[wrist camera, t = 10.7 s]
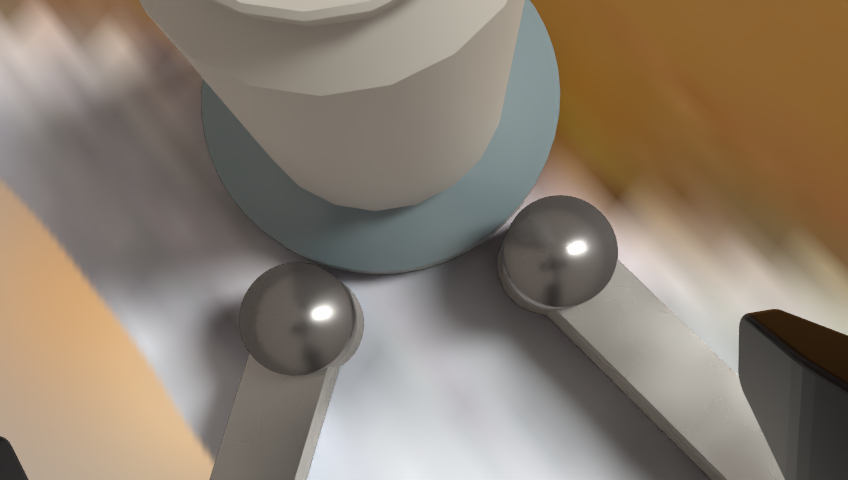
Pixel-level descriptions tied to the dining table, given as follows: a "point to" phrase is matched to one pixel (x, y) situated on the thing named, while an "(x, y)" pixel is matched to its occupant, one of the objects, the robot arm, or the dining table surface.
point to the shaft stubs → (531, 289)
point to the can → (356, 86)
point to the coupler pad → (410, 225)
